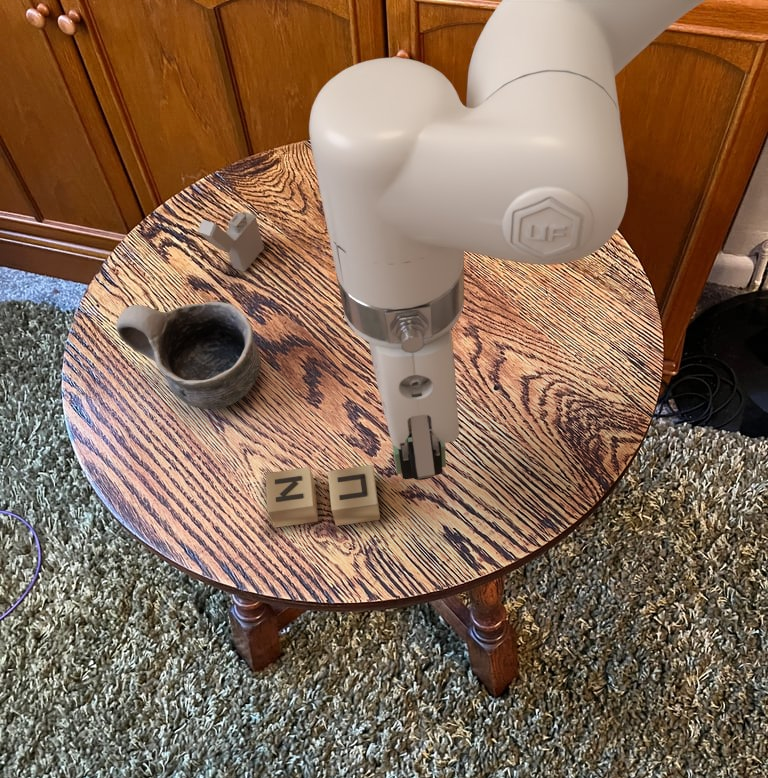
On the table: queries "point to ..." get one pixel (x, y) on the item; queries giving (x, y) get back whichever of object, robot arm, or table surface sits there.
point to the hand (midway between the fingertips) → (417, 448)
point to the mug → (196, 350)
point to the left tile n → (291, 497)
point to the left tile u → (353, 495)
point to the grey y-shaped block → (236, 239)
